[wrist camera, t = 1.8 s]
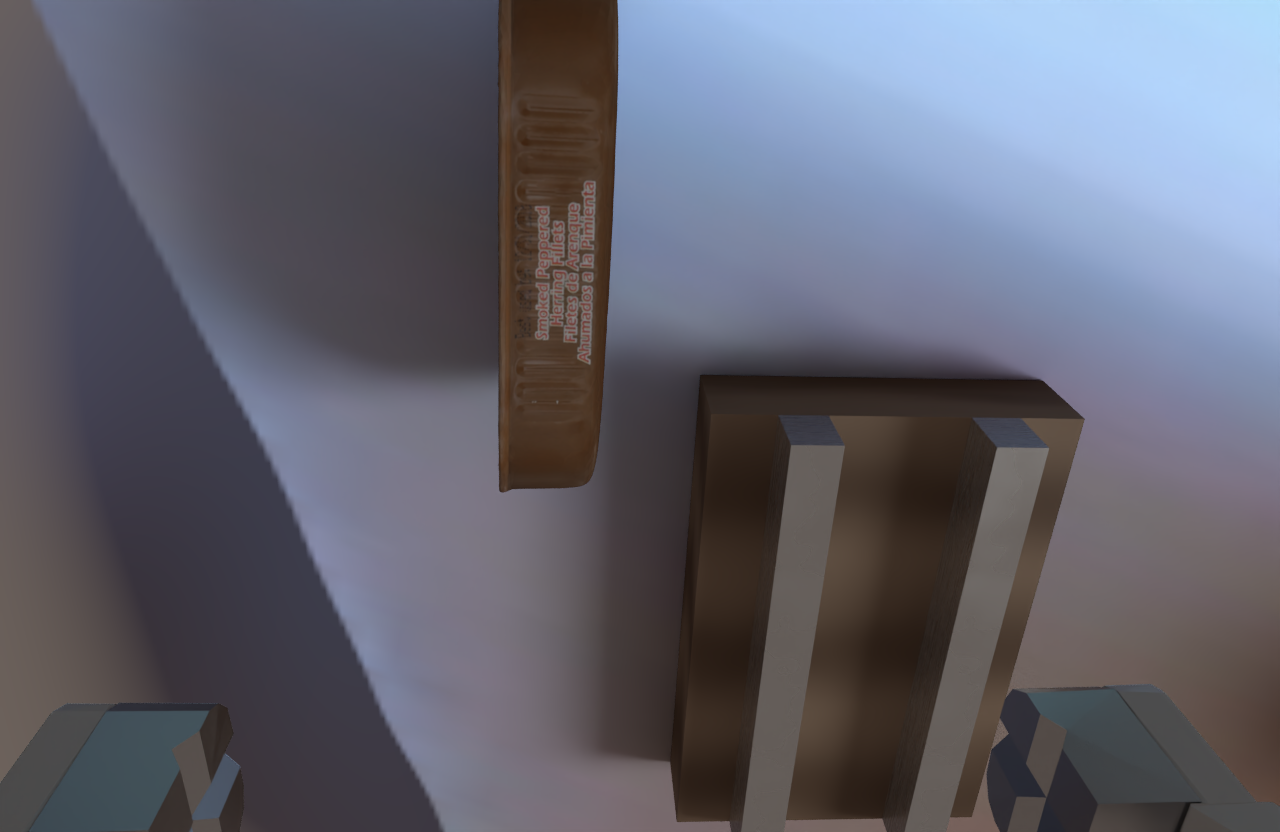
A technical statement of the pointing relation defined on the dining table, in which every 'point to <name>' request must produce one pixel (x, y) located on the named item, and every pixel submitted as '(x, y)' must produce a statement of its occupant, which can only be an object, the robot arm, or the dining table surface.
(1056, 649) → the dining table surface
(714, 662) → the dock
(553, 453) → the tin
